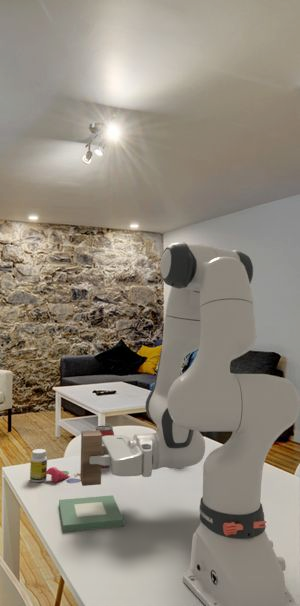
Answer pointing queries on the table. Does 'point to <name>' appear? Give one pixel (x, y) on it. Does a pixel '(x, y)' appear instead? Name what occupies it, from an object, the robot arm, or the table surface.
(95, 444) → the walnut block
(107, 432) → the beer can
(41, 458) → the supplement bottle
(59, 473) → the toy pieces
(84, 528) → the plate
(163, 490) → the table surface
